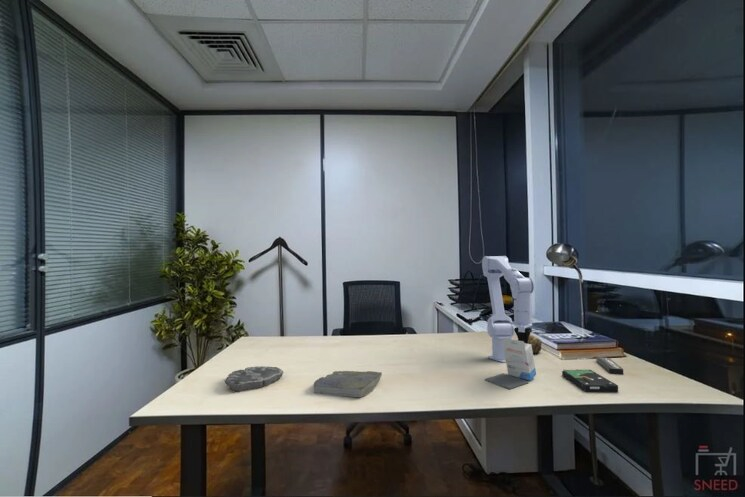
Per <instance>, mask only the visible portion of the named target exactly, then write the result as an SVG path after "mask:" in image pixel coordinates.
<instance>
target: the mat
mask: <svg viewBox="0 0 745 497" xmlns="http://www.w3.org/2000/svg"><path fill="white" fill-rule="evenodd" d="M484 381H487V382H489V383H491V384H495V385H497V386H500V387H502V388H505V389H506V390H513V389H516V388H519V387H522V386H523V385H526V384H529V381H528V380H525V379H522V378H519V377H515V376H511V375H508V373H507V374H505V373H500V374H496V375H493V376H490V377H487V378H485V379H484Z"/></svg>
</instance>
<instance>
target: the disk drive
mask: <svg viewBox="0 0 745 497" xmlns="http://www.w3.org/2000/svg"><path fill="white" fill-rule="evenodd" d="M561 375H562V376H563V377H564V378H566V380H568V381H570V383H573V385H575V386H577V387H578V388H579V389H581V390H582V391H584V392H585V393H587V392H588V393H619V385H618V384H616V383H614V382H613V381H611V380H609V379H607V378H605V377H604V376H602V375H600V374H599V373H597V372H595V371H594V370H592V369H563V370H562V371H561Z"/></svg>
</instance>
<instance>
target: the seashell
mask: <svg viewBox="0 0 745 497" xmlns="http://www.w3.org/2000/svg"><path fill="white" fill-rule="evenodd" d="M542 343H543V342H542V339H541V338H539V337H537V336H534V335H533V334H531V333H530V335H529V338H528V344H531V345H532V351H533V354H538V353H540V352H541V351H542Z"/></svg>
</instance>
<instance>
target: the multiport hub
mask: <svg viewBox="0 0 745 497" xmlns="http://www.w3.org/2000/svg"><path fill="white" fill-rule="evenodd" d="M595 362H596V363H597V364H598V365H599V366H601V368H603V369H604V370H605V371H606V372H608V373H609V374H613V375H624V369H623V368H622V366H620V365H618V363H616V362H615V361H613V360H612V359H611V358H609V357H603V356H596V357H595Z"/></svg>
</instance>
